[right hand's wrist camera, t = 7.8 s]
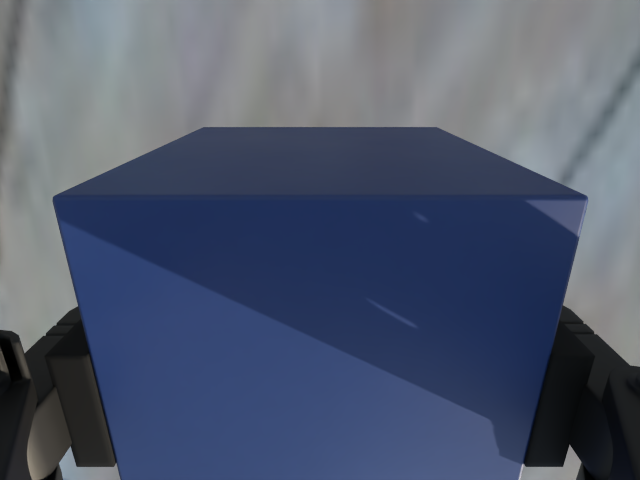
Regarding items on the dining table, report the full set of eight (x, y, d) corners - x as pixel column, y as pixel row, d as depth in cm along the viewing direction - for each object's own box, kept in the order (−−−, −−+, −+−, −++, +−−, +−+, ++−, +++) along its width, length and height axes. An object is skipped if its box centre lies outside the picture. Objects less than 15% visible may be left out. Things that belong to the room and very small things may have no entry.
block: (438, 127, 15) (592, 196, 6) (417, 334, 18) (502, 560, 10) (201, 126, 15) (48, 195, 6) (222, 334, 18) (137, 559, 10)
